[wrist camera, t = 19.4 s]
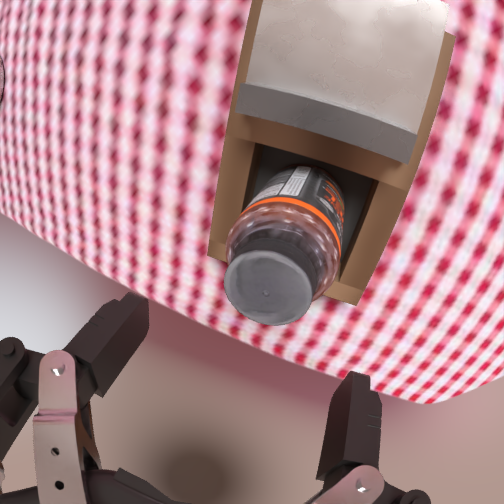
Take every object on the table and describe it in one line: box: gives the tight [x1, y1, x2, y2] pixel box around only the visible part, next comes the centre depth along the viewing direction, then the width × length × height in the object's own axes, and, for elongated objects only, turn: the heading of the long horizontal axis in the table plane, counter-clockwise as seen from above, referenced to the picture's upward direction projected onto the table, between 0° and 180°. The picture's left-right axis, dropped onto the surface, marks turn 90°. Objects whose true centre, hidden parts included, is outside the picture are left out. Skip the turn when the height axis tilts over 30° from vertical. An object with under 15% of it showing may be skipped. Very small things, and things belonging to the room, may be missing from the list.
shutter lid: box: [235, 0, 450, 165], centre depth 13 cm, size 10×10×3 cm
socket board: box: [207, 0, 456, 306], centre depth 20 cm, size 12×20×3 cm, turn 169°
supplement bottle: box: [224, 164, 345, 326], centre depth 18 cm, size 6×6×11 cm
